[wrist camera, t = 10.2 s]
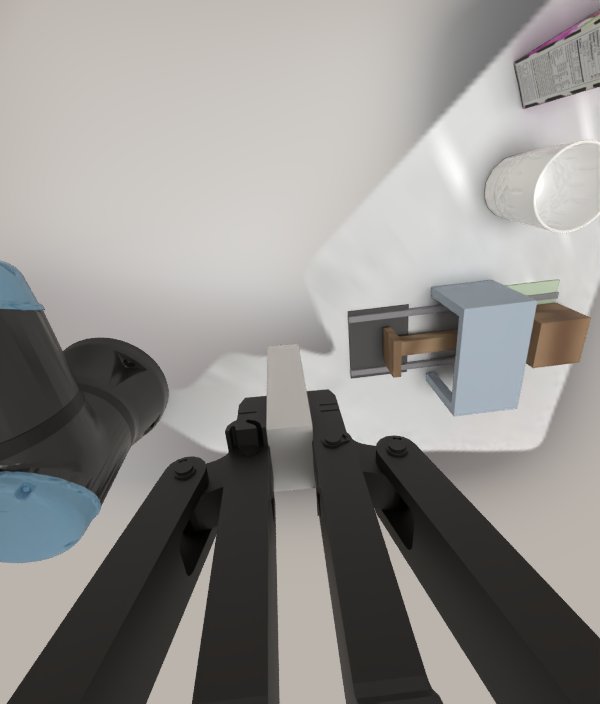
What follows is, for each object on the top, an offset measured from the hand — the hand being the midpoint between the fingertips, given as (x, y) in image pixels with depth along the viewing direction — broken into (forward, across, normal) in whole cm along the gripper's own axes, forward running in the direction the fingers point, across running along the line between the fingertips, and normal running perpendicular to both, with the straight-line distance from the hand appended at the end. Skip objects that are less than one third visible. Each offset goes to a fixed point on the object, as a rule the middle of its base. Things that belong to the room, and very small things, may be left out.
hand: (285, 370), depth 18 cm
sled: (+29, +25, -12) cm, 40 cm away
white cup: (+29, +28, +6) cm, 41 cm away
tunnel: (+29, +24, -12) cm, 40 cm away
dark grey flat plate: (+29, +13, -12) cm, 34 cm away
